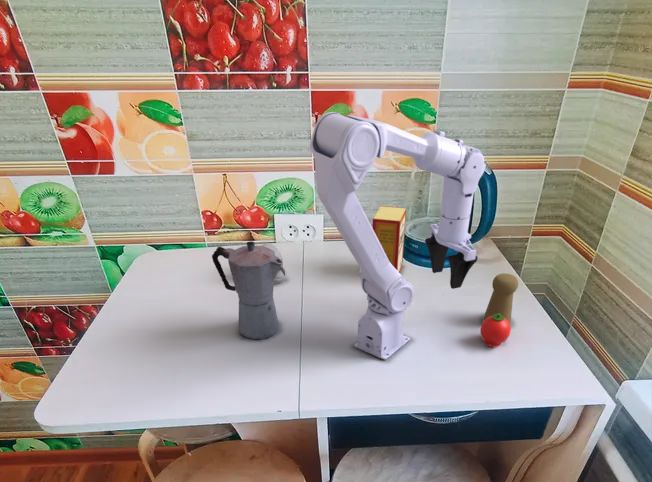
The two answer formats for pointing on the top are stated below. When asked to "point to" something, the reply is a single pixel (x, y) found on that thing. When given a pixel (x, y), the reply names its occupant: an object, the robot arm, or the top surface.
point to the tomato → (495, 330)
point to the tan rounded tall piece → (502, 296)
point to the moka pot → (252, 287)
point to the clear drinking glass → (278, 254)
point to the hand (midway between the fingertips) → (446, 279)
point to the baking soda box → (391, 233)
